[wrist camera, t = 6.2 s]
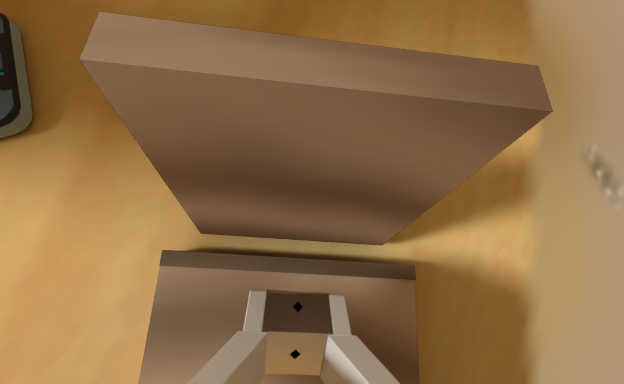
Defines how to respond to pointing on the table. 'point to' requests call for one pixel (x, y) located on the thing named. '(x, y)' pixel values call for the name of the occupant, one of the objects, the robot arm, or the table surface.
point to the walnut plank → (306, 124)
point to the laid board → (266, 275)
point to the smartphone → (13, 81)
